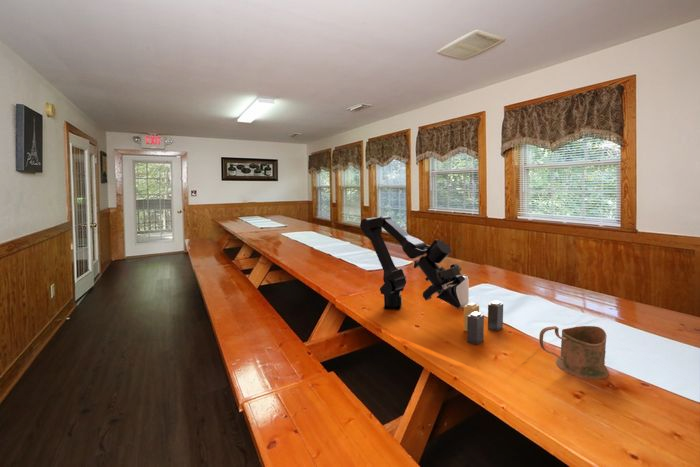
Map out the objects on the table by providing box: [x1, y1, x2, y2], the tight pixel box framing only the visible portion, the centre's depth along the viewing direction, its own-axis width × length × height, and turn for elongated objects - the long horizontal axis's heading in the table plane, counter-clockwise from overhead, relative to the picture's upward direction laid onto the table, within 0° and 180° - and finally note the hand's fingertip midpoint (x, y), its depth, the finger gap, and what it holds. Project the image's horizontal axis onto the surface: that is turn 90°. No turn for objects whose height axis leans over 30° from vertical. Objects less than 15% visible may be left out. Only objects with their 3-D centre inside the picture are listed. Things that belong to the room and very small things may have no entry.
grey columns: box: [466, 300, 504, 346], centre depth 112 cm, size 18×19×10 cm
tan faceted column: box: [463, 301, 480, 332], centre depth 112 cm, size 3×4×9 cm
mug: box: [538, 325, 609, 381], centre depth 89 cm, size 12×18×12 cm, turn 95°
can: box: [456, 273, 470, 306], centre depth 137 cm, size 6×6×12 cm
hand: (459, 307), depth 115 cm, fingers closed
